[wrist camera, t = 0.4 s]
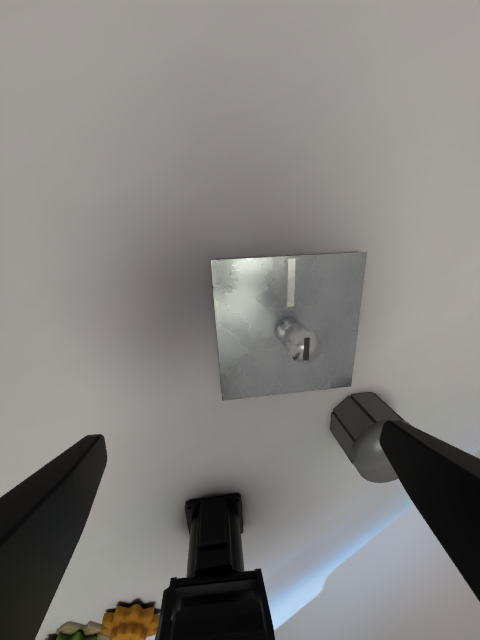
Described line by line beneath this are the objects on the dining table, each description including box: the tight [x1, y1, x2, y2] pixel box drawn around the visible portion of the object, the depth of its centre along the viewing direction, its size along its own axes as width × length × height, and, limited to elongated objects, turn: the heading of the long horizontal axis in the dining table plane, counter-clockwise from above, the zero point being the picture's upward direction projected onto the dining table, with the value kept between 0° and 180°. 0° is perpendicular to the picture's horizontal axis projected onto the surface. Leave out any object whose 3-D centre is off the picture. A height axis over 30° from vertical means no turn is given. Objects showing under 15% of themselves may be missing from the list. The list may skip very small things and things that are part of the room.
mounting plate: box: [211, 252, 367, 400], centre depth 19 cm, size 13×13×5 cm
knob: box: [330, 392, 412, 483], centre depth 23 cm, size 7×7×5 cm
